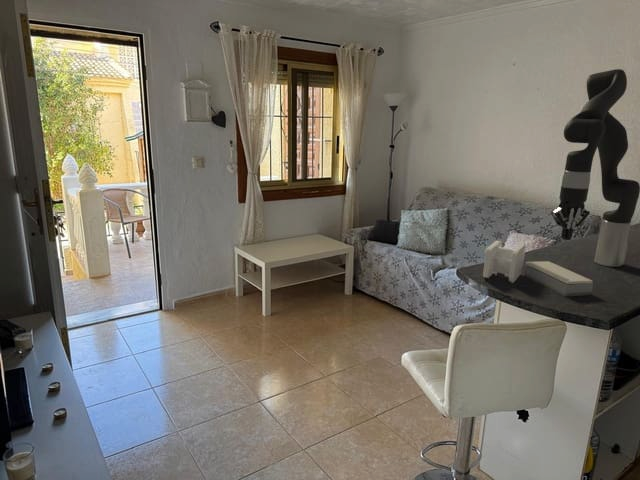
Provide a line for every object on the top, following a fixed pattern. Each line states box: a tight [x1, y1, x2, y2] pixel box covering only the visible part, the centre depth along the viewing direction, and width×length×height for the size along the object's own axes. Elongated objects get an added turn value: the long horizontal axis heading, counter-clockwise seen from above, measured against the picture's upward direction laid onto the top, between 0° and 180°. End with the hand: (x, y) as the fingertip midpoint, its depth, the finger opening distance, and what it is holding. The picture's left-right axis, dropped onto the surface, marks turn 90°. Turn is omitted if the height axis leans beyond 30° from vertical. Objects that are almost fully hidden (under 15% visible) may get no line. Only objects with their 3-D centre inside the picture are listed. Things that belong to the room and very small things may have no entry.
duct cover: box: [525, 260, 594, 284], centre depth 152 cm, size 10×20×1 cm, turn 13°
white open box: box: [523, 264, 594, 298], centre depth 153 cm, size 10×20×4 cm, turn 13°
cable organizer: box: [482, 240, 526, 284], centre depth 158 cm, size 15×11×12 cm
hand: (565, 239), depth 144 cm, fingers closed
